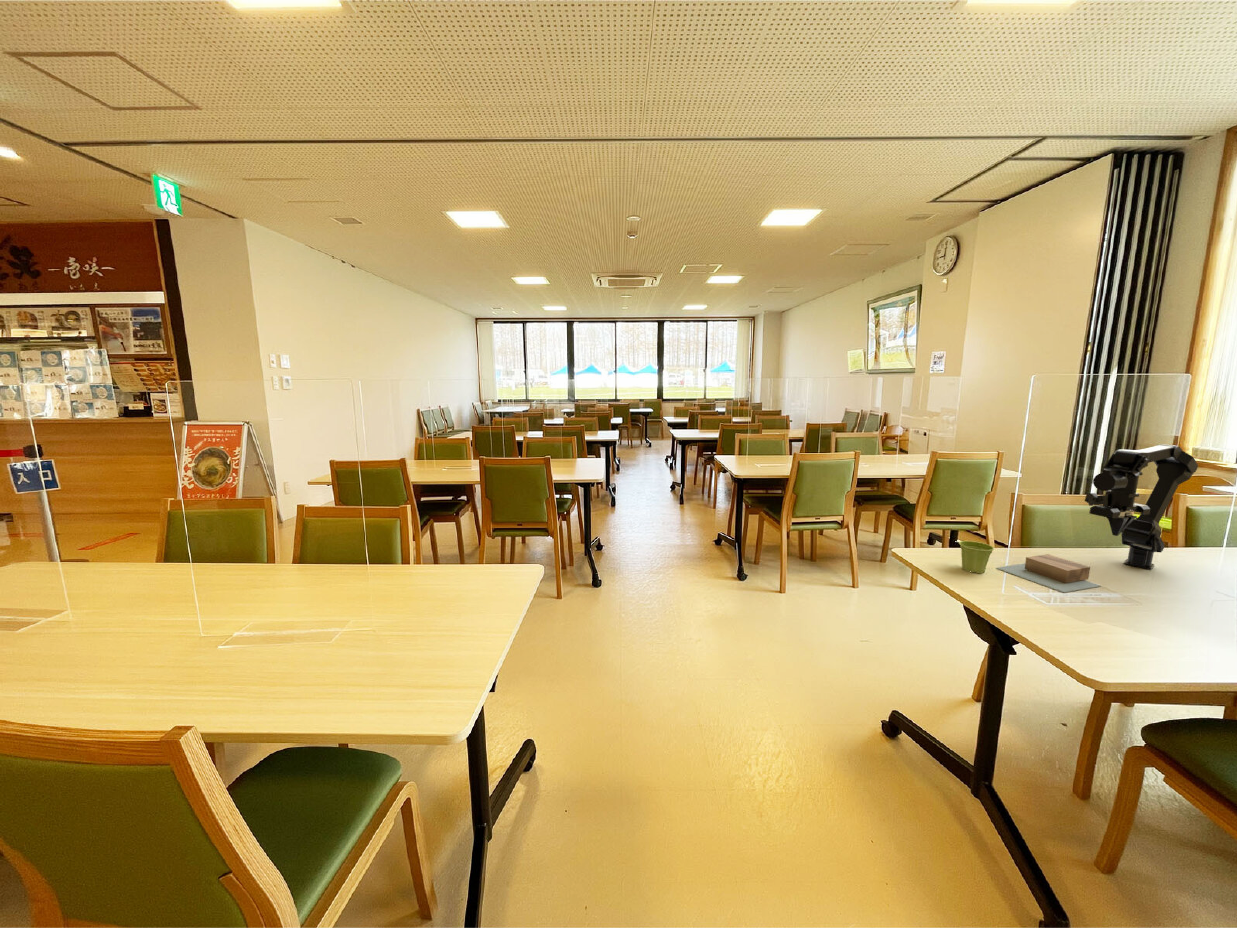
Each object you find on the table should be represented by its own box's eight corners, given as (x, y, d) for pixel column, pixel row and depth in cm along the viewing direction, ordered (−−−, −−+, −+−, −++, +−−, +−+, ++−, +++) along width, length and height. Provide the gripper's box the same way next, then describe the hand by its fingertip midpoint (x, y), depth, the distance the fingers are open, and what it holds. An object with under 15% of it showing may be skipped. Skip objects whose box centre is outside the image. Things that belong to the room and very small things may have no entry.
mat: (1030, 563, 169) (1030, 562, 169) (1100, 586, 151) (1100, 585, 150) (996, 568, 165) (996, 567, 165) (1063, 592, 146) (1063, 592, 146)
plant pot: (967, 563, 170) (970, 539, 168) (997, 573, 161) (1000, 547, 160) (949, 567, 166) (952, 542, 165) (979, 577, 158) (982, 551, 156)
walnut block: (1047, 554, 165) (1026, 557, 162) (1090, 567, 154) (1067, 570, 151) (1046, 566, 166) (1024, 569, 163) (1088, 580, 155) (1065, 583, 152)
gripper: (1112, 482, 169) (1105, 526, 171) (1074, 485, 164) (1067, 530, 166) (1155, 489, 158) (1146, 535, 161) (1115, 492, 153) (1107, 540, 156)
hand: (1115, 535), depth 161 cm, fingers closed
